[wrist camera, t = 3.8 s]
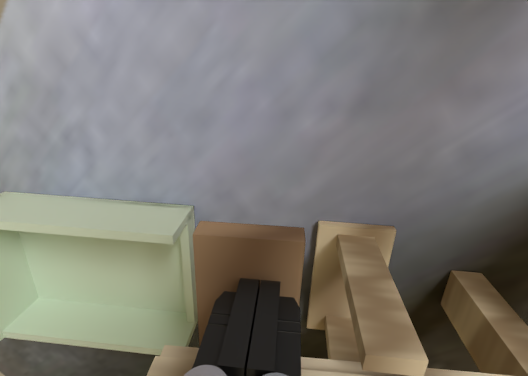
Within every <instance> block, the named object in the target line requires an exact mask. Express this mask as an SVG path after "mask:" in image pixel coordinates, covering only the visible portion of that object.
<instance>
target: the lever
mask: <svg viewBox="0 0 528 376" xmlns="http://www.w3.org/2000/svg"><path fill="white" fill-rule="evenodd" d="M193 249H194V265H195V281H196V297H197V313H198V329H199V345H200V344H201V341H202V338H203V335H204V332H205V329H206V327H207V325H208V321H209V318H210V315H211V312H212V309H213V306H214V303H215V300H216V299H217V298H218V297H219V296H220V295H221V294H222V293H223V292H224V291H229V292H236V291H237V287H238V284H239V280H240V278H247V279H258V280H260V283H261V280H270V281H281V283H280V296H283V297H293V298H295V300H296V302H297V304H298V306H299V302H300V292H301V282H302V272H303V262H304V252H305V232H304V228H299V227H284V226H269V225H254V224H239V223H224V222H209V221H200V222H199V224H198V225H197V227H196V229H195V231H194V233H193ZM198 350H199V348H195V347H183V346H172V345H164V348H163V350H162V352H161V355H160V356H155V358H154V360H153V362H152V365H151V367H150V369H149V371H148V373H147V376H184V375H185V374H186V373H187V372H188V371H189V370H191V369H192V367H193V364H194V362H195V359H196V356H197V353H198ZM301 376H408V375H400V374H391V373H382V372H373V371H364V370H362V366H361V362H353V361H342V360H331V359H319V358H308V357H301ZM424 376H512V375H500V374H489V373H478V372H466V371H455V370H444V369H432V368H426V371H425V374H424Z"/></svg>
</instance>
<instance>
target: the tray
mask: <svg viewBox="0 0 528 376" xmlns="http://www.w3.org/2000/svg"><path fill="white" fill-rule="evenodd" d="M194 231H195V219H194V206H189V205H176V204H163V203H149V202H136V201H123V200H110V199H97V198H83V197H70V196H57V195H44V194H31V193H17V192H3V193H1V194H0V341H1V340H2V339H3V338H13V339H22V340H30V341H39V342H48V343H56V344H65V345H74V346H83V347H91V348H100V349H109V350H117V351H126V352H135V353H143V354H152V355H161V352H162V350H163V348H164V345H172V346H183V347H188V346H189V343H190V340H191V338H192V335H193V333H194V330H195V327H196V325H197V322H198V313H197V297H196V281H195V265H194V249H193V233H194Z"/></svg>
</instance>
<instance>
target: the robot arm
mask: <svg viewBox="0 0 528 376" xmlns="http://www.w3.org/2000/svg"><path fill="white" fill-rule="evenodd" d="M280 283H281V281H270V280H261V283H260V280H258V279H247V278H240V280H239V284H238V287H237V291H236V292H229V291H224V292H223V293H222V294H221V295H220V296H219V297H218V298H217V299H216V300H215V303H214V306H213V309H212V312H211V315H210V318H209V321H208V325H207V327H206V329H205V332H204V335H203V338H202V341H201V344H200V347H199V350H198V353H197V356H196V359H195V362H194V364H193V367H192V369H191V370H189V371H188V372H187V373H186V374H185V375H184V376H301V335H300V332H301V331H300V308H299V306H298V304H297V302H296V300H295V298H293V297H283V296H280Z"/></svg>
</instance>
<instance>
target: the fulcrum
mask: <svg viewBox="0 0 528 376" xmlns="http://www.w3.org/2000/svg"><path fill="white" fill-rule="evenodd" d="M395 235H396V229H395V228H394V226H383V225H370V224H357V223H344V222H331V221H318V229H317V238H316V247H315V255H314V264H313V272H312V281H311V290H310V298H309V307H308V316H307V328H308V329H318V330H325V333H326V342H327V352H328V359H331V360H342V361H353V362H361V366H362V370H364V371H373V372H382V373H391V374H400V375H408V376H424V374H425V371H426V368H427V365H428V362H429V361H428V358H427V356H426V354H425V352H424V349H423V347H422V345H421V342H420V340H419V338H418V336H417V333H416V331H415V329H414V326H413V324H412V322H411V320H410V317H409V315H408V313H407V310H406V308H405V306H404V304H403V301H402V299H401V297H400V294H399V292H398V290H397V288H396V285H395V283H394V281H393V278H392V276H391V274H390V272H389V269H388V265H389V261H390V256H391V252H392V248H393V243H394V239H395ZM440 304H441V306H442V307H443V309H444V311H445V313H446V314H447V316H448V318H449V319H450V321H451V323H452V324H453V326H454V328H455V330H456V331H457V333H458V335H459V336H460V338H461V340H462V341H463V343H464V345H465V347H466V348H467V350H468V352H469V353H470V355H471V357H472V358H473V360H474V362H475V363H476V365H477V367H478V369H479V370H480V372H481V373H489V374H500V375H512V376H528V326H527V325H526V324H525V323H524V322H523V320H522V319H521V318H520V317H519V316H518V315H517V313H516V312H515V311H514V310H513V309H512V308H511V307H510V305H509V304H508V303H507V302H506V301H505V300H504V298H503V297H502V296H501V295H500V294H499V293H498V292H497V290H496V289H495V288H494V287H493V286H492V285H491V283H490V282H489V281H488V280H487V279H486V278H485V277H484V275H483V274H482V273H476V272H465V271H453V270H451V273H450V276H449V279H448V282H447V285H446V288H445V291H444V294H443V297H442V300H441V303H440Z"/></svg>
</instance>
